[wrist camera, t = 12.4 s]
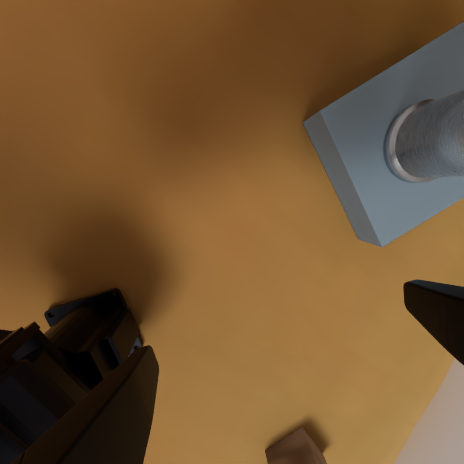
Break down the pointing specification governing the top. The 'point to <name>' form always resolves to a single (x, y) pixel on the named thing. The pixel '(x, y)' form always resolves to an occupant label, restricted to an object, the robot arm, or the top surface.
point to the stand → (372, 138)
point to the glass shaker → (427, 140)
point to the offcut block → (295, 450)
